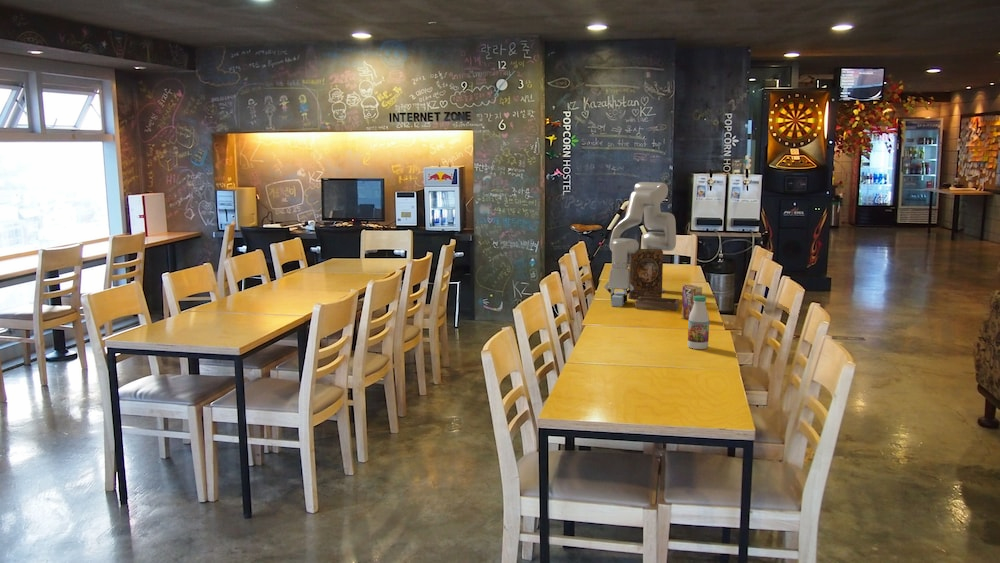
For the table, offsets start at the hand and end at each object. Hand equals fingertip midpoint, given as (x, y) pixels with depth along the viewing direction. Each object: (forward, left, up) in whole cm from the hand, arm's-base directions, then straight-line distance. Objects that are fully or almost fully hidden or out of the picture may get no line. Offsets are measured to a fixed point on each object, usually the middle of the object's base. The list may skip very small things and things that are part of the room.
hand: (619, 302), depth 389 cm
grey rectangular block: (0, 0, -1) cm, 1 cm away
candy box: (+26, +36, -1) cm, 45 cm away
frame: (+3, +19, -1) cm, 19 cm away
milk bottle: (+76, +42, -1) cm, 87 cm away
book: (-18, +10, -1) cm, 20 cm away
